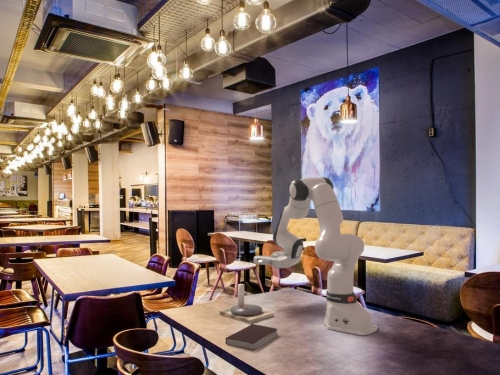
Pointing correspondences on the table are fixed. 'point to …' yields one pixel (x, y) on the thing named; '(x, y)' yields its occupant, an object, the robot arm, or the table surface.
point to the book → (252, 336)
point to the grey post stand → (244, 305)
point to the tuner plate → (247, 316)
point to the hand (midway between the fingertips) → (260, 262)
